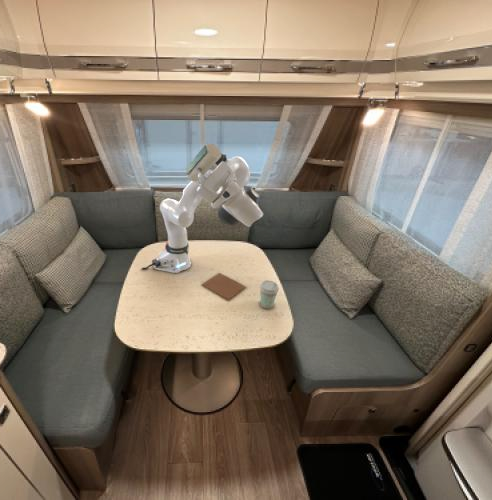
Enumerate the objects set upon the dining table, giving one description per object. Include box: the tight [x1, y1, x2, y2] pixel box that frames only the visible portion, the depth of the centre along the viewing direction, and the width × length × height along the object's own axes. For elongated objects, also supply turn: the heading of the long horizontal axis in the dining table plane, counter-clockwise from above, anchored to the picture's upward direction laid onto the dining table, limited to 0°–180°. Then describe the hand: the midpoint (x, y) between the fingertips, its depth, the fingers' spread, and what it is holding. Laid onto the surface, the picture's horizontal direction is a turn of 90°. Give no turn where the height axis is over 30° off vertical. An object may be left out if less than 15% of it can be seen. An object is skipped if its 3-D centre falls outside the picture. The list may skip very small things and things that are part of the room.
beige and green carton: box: [185, 142, 222, 182], centre depth 95 cm, size 6×6×14 cm
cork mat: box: [201, 272, 246, 301], centre depth 142 cm, size 18×14×1 cm
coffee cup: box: [259, 280, 280, 310], centre depth 127 cm, size 8×8×12 cm
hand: (200, 164), depth 96 cm, fingers closed on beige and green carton, 6 cm apart
